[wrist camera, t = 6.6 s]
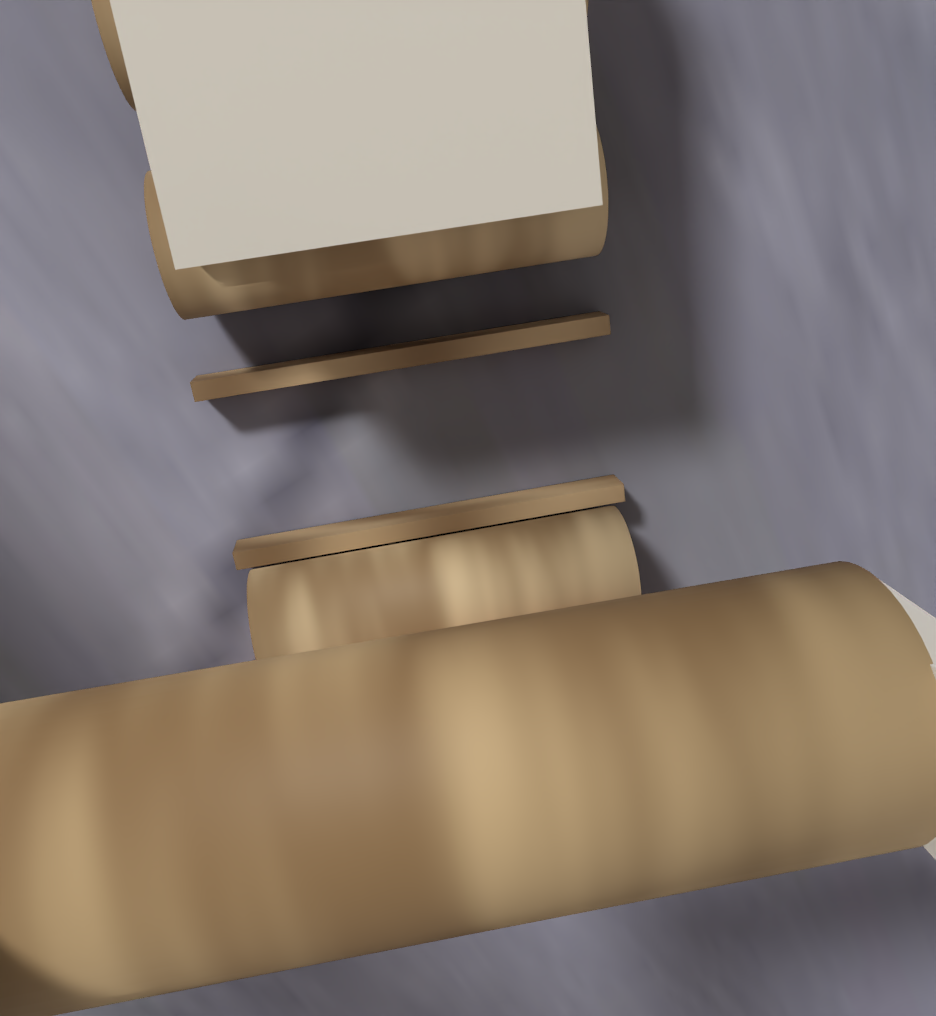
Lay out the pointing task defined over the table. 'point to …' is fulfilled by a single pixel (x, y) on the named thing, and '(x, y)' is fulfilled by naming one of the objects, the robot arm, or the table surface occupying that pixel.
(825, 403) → the table surface
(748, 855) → the roller
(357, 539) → the roller bed
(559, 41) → the slab
